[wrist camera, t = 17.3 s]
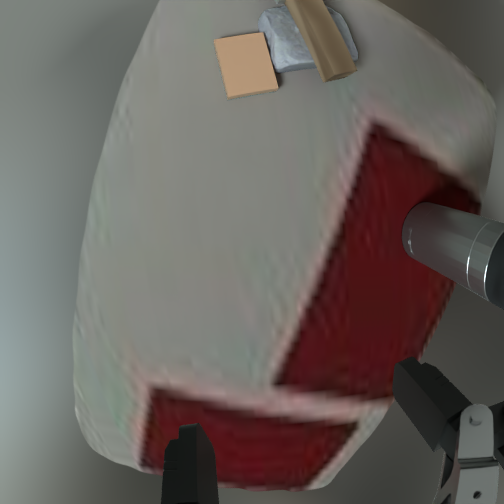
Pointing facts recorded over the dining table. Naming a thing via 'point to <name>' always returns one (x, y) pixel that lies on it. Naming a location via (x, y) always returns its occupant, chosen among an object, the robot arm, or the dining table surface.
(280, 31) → the stone block
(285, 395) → the dining table surface
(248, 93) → the tile
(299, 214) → the dining table surface
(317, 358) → the dining table surface
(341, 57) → the spatula
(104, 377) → the dining table surface
